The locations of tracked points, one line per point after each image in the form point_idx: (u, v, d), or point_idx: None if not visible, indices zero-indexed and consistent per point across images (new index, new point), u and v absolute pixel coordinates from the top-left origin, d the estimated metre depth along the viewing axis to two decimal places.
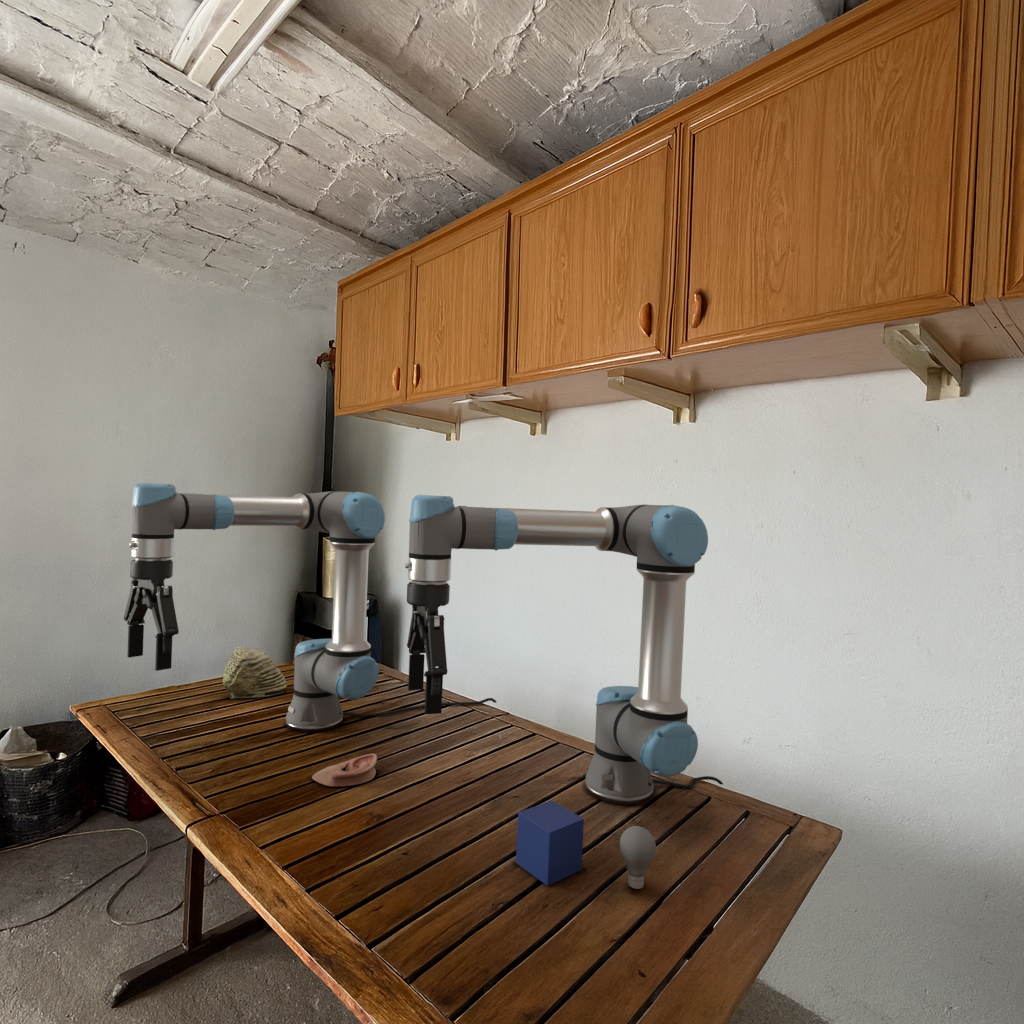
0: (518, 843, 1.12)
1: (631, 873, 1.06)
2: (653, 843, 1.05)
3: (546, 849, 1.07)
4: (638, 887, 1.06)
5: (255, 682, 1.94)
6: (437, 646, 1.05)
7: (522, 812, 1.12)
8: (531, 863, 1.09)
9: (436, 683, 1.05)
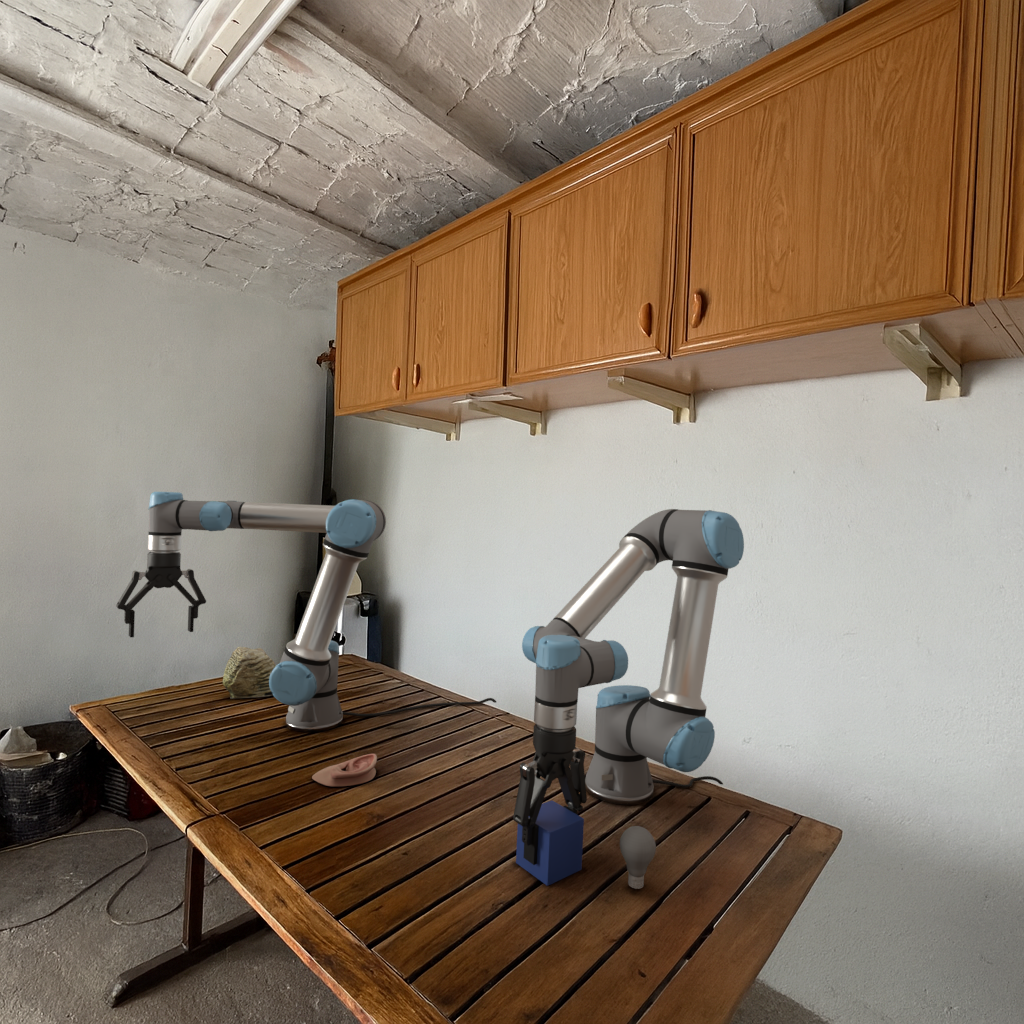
0: (518, 843, 1.12)
1: (631, 873, 1.06)
2: (653, 843, 1.05)
3: (546, 849, 1.07)
4: (638, 887, 1.06)
5: (255, 682, 1.94)
6: None
7: None
8: None
9: None
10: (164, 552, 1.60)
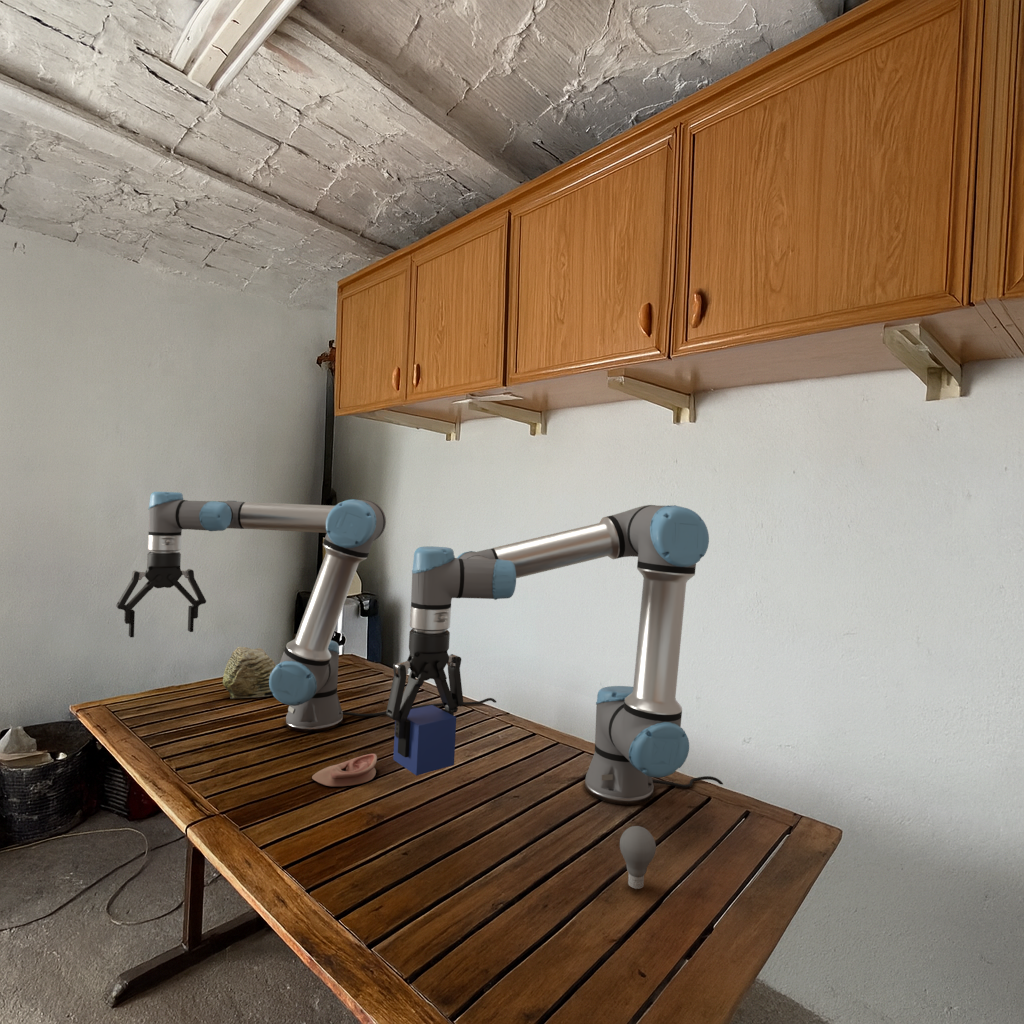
0: (395, 741, 1.19)
1: (631, 873, 1.06)
2: (653, 843, 1.05)
3: (416, 742, 1.14)
4: (638, 887, 1.06)
5: (255, 682, 1.94)
6: None
7: None
8: (404, 757, 1.16)
9: (451, 714, 1.23)
10: (164, 552, 1.60)
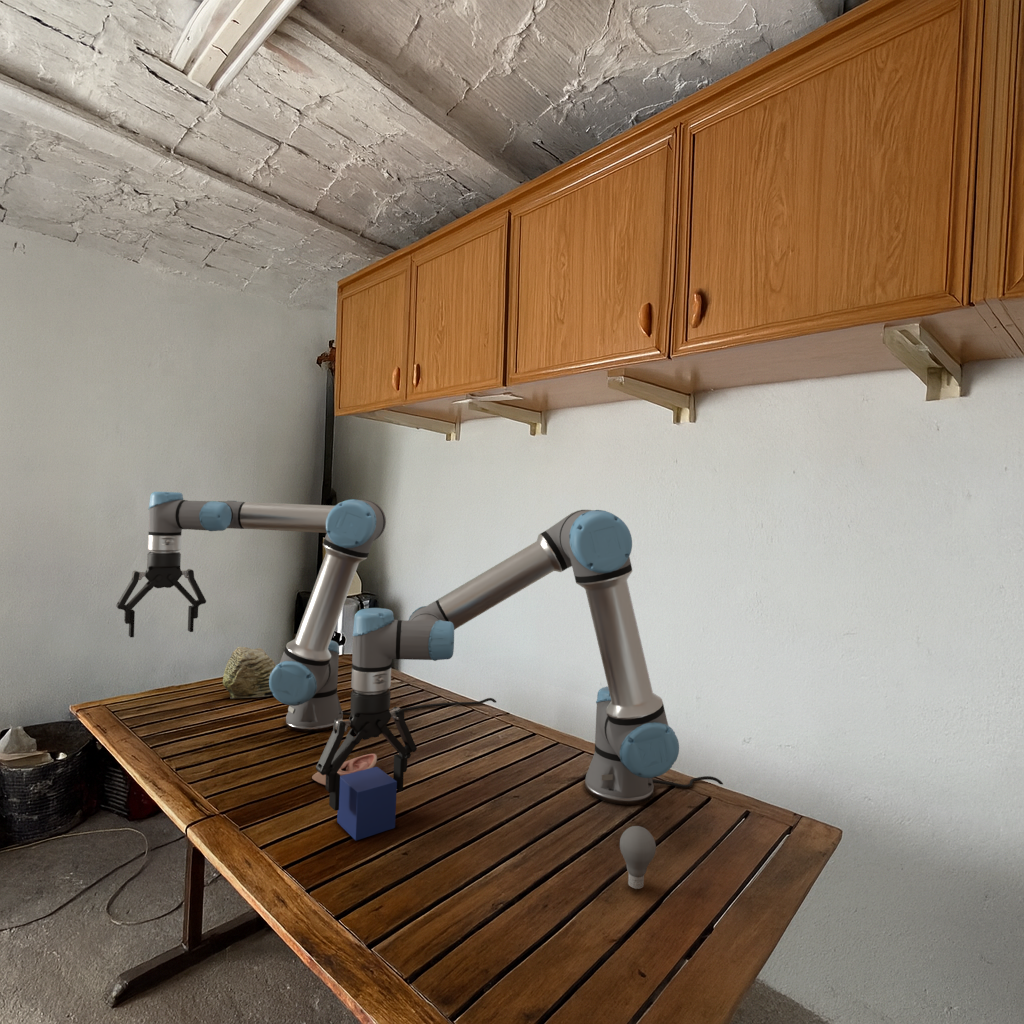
0: None
1: (631, 873, 1.06)
2: (653, 843, 1.05)
3: (355, 808, 1.18)
4: (638, 887, 1.06)
5: (255, 682, 1.94)
6: None
7: (342, 776, 1.24)
8: (346, 821, 1.21)
9: None
10: (164, 552, 1.60)
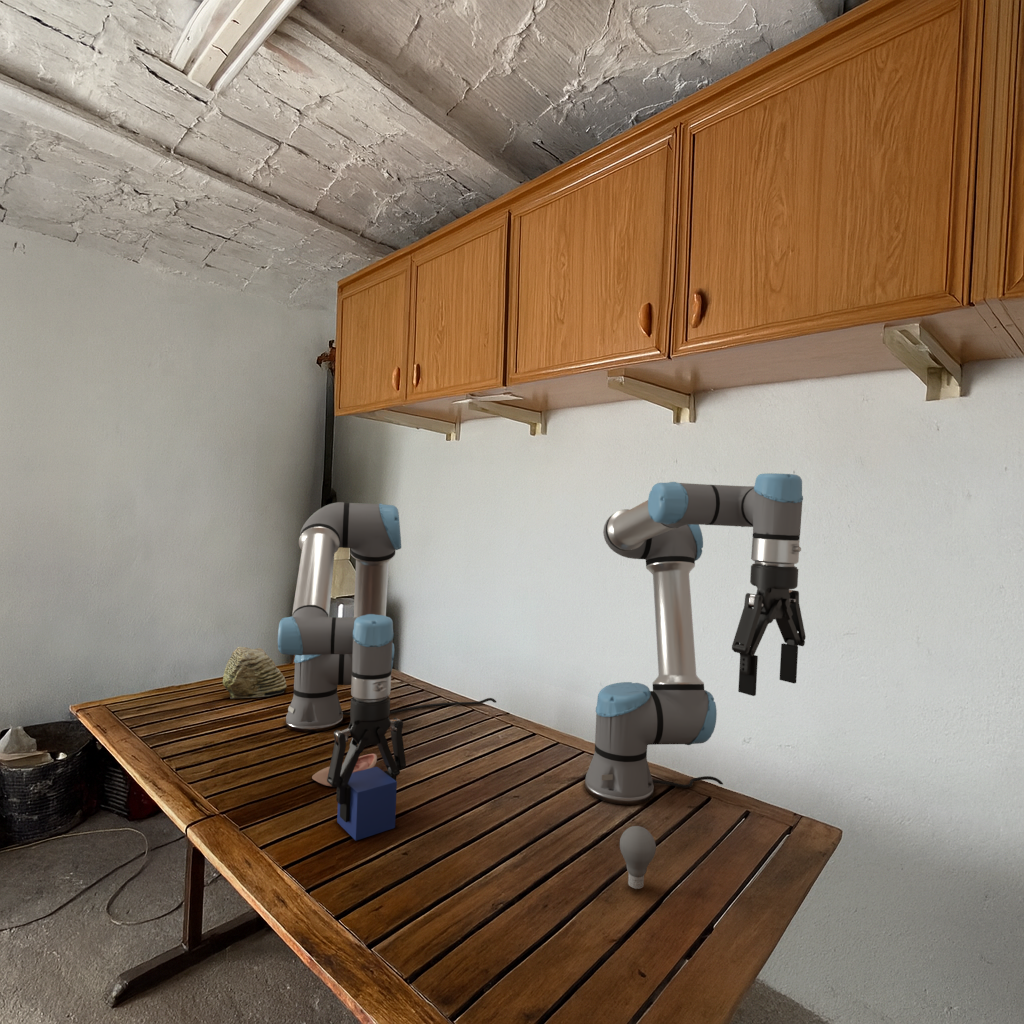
0: (338, 804, 1.23)
1: (631, 873, 1.06)
2: (653, 843, 1.05)
3: (355, 808, 1.18)
4: (638, 887, 1.06)
5: (255, 682, 1.94)
6: None
7: None
8: None
9: None
10: (375, 700, 1.20)
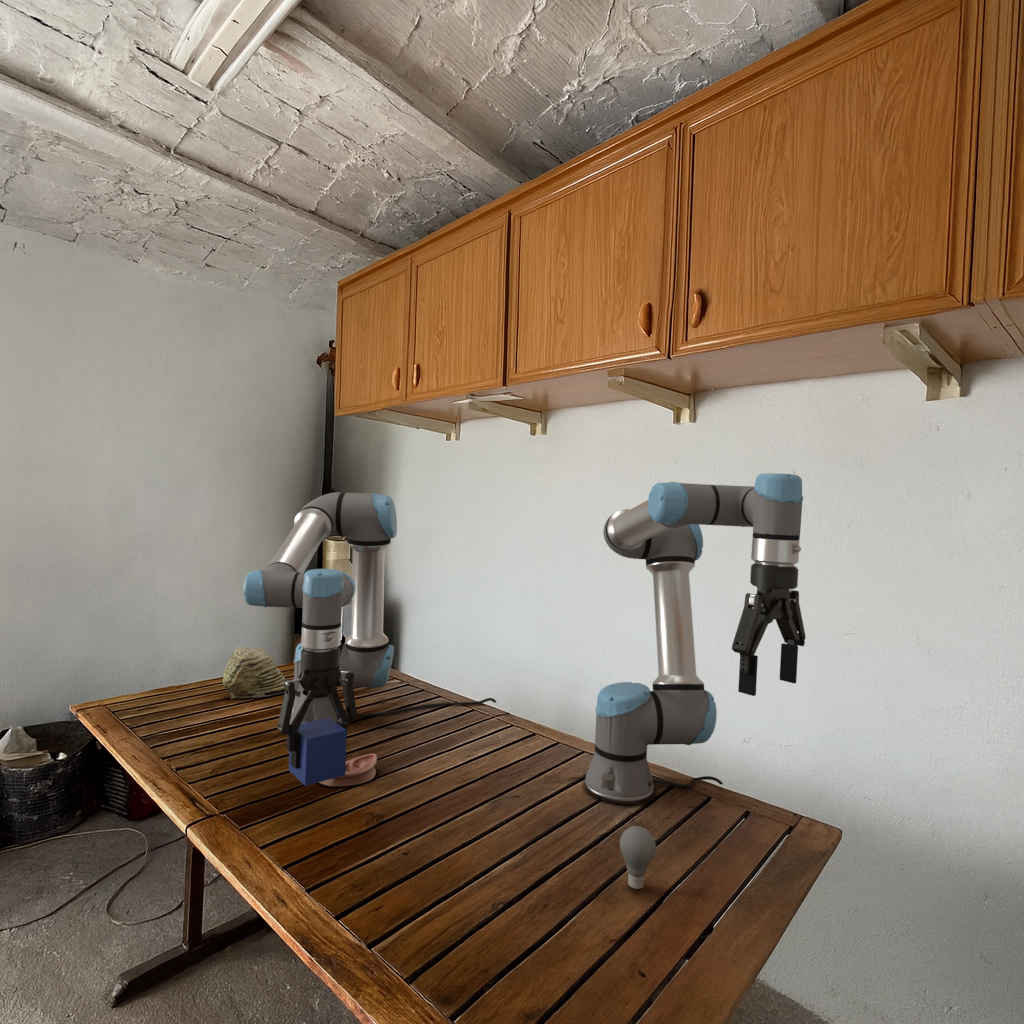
0: (290, 753, 1.26)
1: (631, 873, 1.06)
2: (653, 843, 1.05)
3: (304, 754, 1.21)
4: (638, 887, 1.06)
5: (255, 682, 1.94)
6: None
7: None
8: None
9: None
10: (324, 651, 1.23)
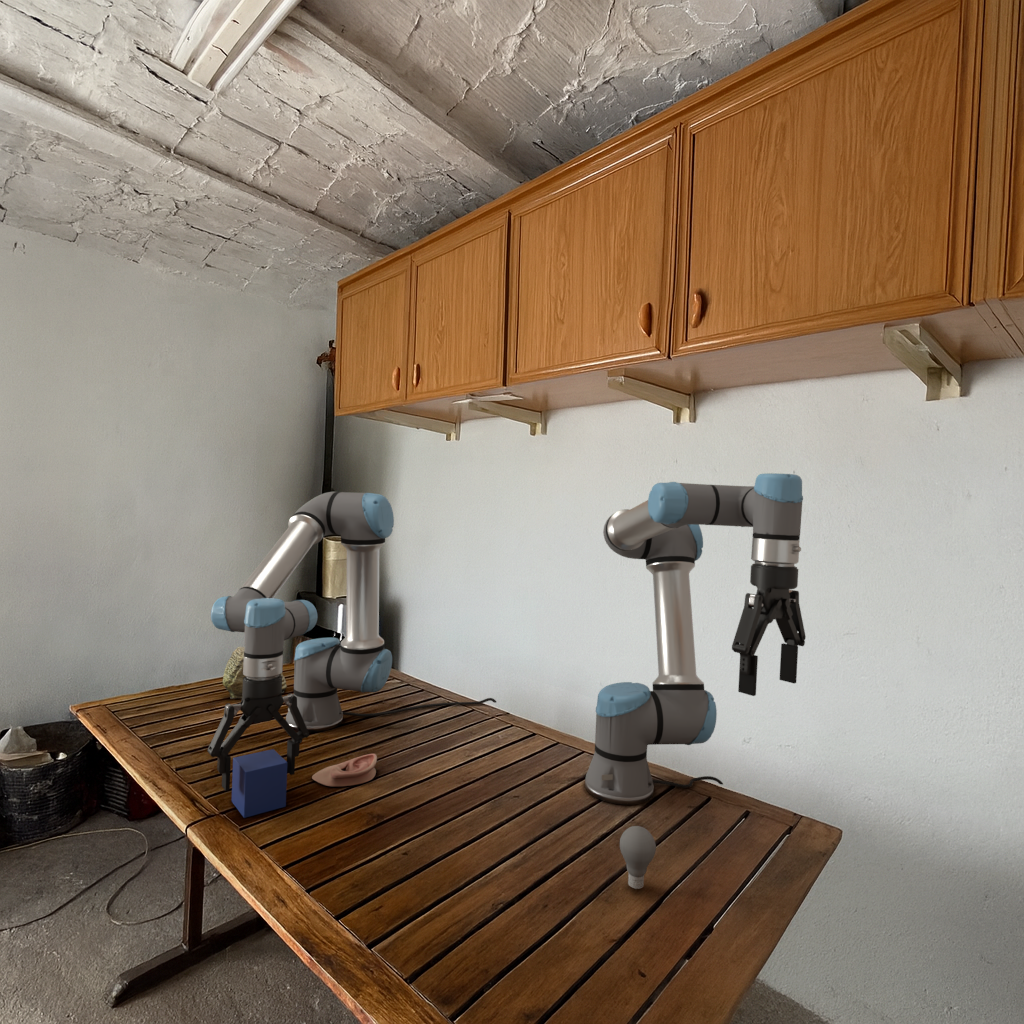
0: (232, 784, 1.30)
1: (631, 873, 1.06)
2: (653, 843, 1.05)
3: (243, 787, 1.24)
4: (638, 887, 1.06)
5: None
6: None
7: (236, 757, 1.30)
8: (237, 800, 1.27)
9: None
10: (265, 679, 1.26)
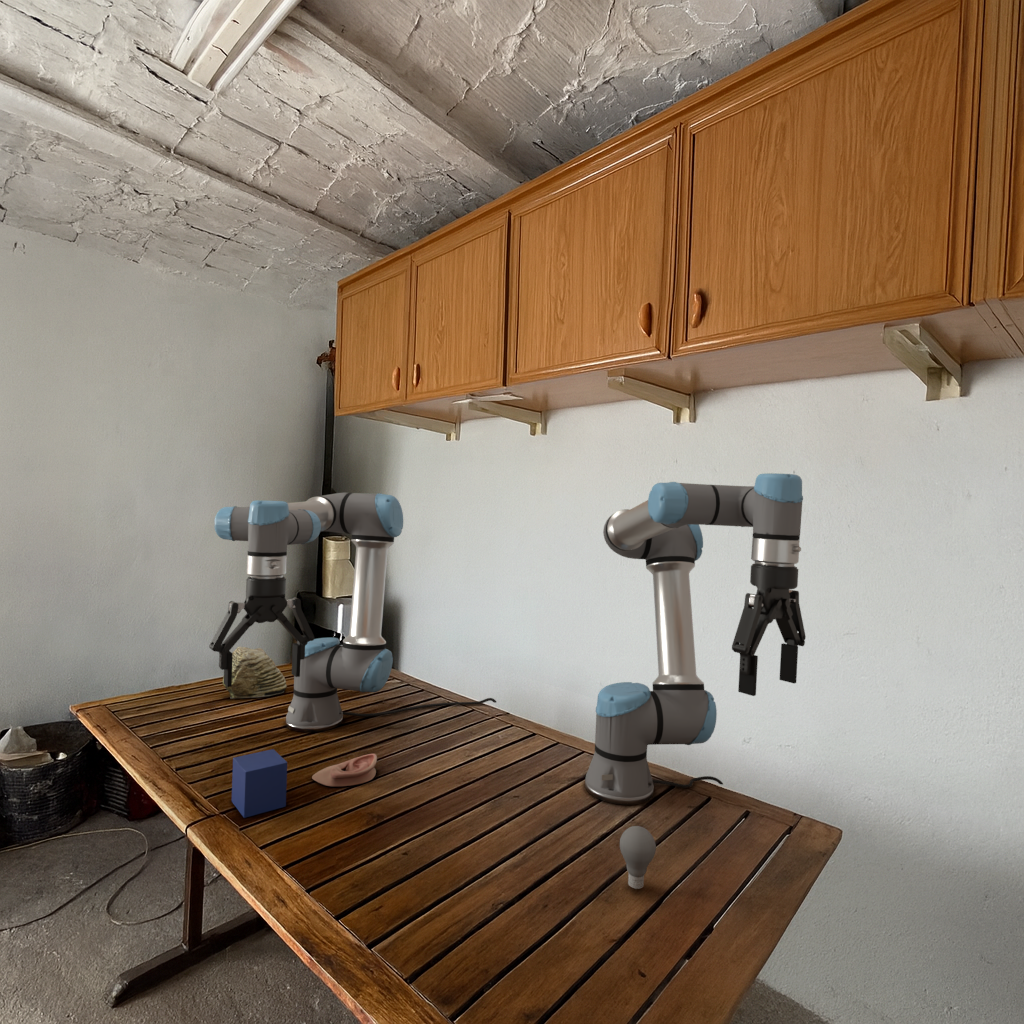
0: (232, 784, 1.30)
1: (631, 873, 1.06)
2: (653, 843, 1.05)
3: (243, 787, 1.24)
4: (638, 887, 1.06)
5: (255, 682, 1.94)
6: None
7: (236, 757, 1.30)
8: (237, 800, 1.27)
9: None
10: (268, 577, 1.26)
